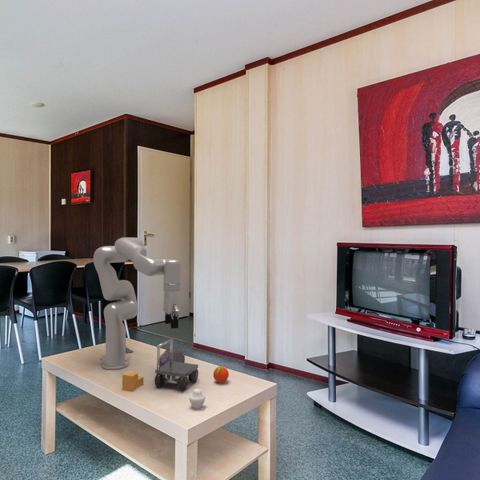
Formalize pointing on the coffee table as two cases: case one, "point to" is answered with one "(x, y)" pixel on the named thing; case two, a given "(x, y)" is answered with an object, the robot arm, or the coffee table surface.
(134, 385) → the block
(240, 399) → the coffee table surface
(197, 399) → the white lidded jar
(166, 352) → the stone
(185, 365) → the trolley
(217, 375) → the clementine
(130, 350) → the grey flat jagged piece
